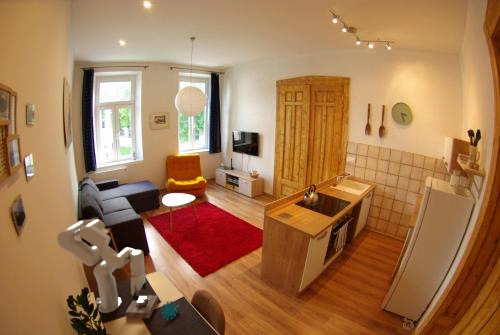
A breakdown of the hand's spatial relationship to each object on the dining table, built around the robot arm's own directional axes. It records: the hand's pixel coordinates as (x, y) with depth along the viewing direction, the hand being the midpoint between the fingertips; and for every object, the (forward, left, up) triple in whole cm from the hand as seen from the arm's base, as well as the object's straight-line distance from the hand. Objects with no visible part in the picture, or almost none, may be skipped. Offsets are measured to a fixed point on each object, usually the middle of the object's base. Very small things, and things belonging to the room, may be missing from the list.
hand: (139, 294), depth 156 cm
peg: (+1, 0, -11) cm, 11 cm away
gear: (+20, -4, -11) cm, 23 cm away
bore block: (+1, 0, -11) cm, 11 cm away
